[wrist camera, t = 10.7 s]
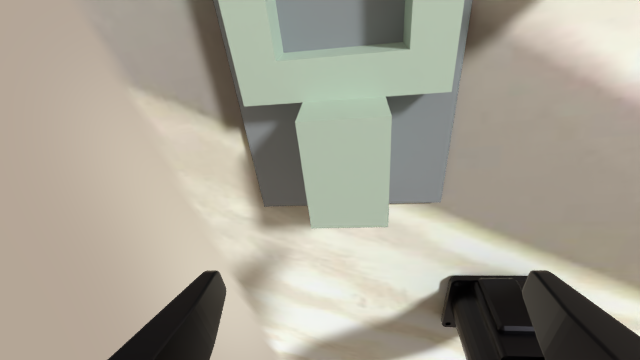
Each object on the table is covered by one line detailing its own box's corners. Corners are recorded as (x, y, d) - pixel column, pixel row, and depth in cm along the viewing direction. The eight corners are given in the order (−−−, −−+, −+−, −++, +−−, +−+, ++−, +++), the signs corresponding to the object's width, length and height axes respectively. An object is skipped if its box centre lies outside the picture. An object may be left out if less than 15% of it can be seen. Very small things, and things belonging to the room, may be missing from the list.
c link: (429, 177, 19) (448, 225, 15) (274, 183, 20) (256, 229, 16) (476, -222, 10) (551, -342, 6) (197, -168, 11) (121, -242, 8)
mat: (439, 197, 20) (440, 202, 20) (266, 202, 22) (264, 206, 21) (516, -320, 9) (524, -334, 9) (158, -241, 11) (151, -250, 10)
